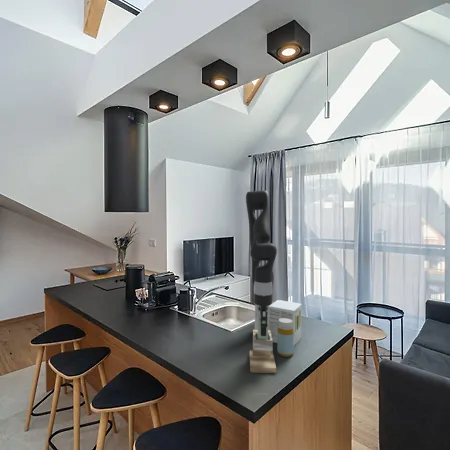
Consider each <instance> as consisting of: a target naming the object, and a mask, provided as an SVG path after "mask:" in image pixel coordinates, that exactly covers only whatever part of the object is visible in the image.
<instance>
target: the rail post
mask: <svg viewBox="0 0 450 450" xmlns="http://www.w3.org/2000/svg"><path fill="white" fill-rule="evenodd" d="M262 324H265V321H262ZM267 325H268V321H267ZM258 339H261V340H268V326H267V327H266V336H261V326H260V321H259V314H258Z"/></svg>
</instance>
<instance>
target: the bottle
mask: <svg viewBox="0 0 450 450" xmlns="http://www.w3.org/2000/svg"><path fill="white" fill-rule="evenodd" d="M294 347H295V346H294V331H293V320H291V319H289V318H280V319H279V328H278V343H277V348H276V349H277V354H278V355H279V356H281V357H285V358H289V357H292V356H293V355H294Z"/></svg>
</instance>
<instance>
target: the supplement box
mask: <svg viewBox="0 0 450 450" xmlns="http://www.w3.org/2000/svg"><path fill="white" fill-rule="evenodd" d="M302 309H303V307H302V303H299V302H294V301H287V300H281V299H277V300H276V301H273V304H271V305H270V306H268V330H270V332H271V336H272V340H273V344H274V343H275V344H278V328H279V319H280V318H289V319H291V320H293V331H294V347H295V346H296V345H297V343H298V342H299V341H300V340H301V339H302V317H303V316H302Z"/></svg>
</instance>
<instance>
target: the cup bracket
mask: <svg viewBox="0 0 450 450" xmlns="http://www.w3.org/2000/svg"><path fill="white" fill-rule="evenodd" d="M273 344H274V342H273V340H272V336H271V332H270V330H268V340H261V339H258V330H255V329H252V350H249V366H250V367H249V369H250V371H249V372H250V373H258V374H259V373H262V374H277V366H276V360H275V355H274V353H273V352H274V350H273V347H274V345H273Z"/></svg>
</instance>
